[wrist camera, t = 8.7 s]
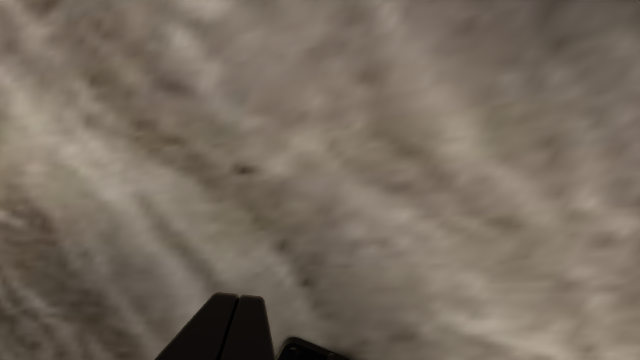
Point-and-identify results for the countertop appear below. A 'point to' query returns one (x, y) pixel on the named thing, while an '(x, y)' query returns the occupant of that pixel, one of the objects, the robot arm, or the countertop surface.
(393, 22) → the countertop surface
